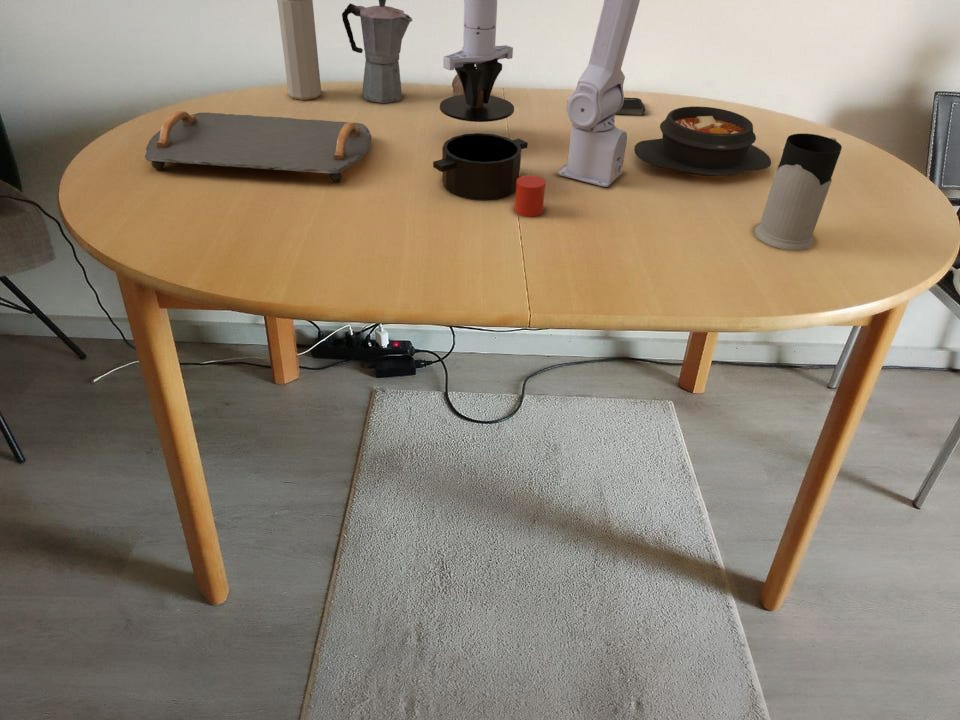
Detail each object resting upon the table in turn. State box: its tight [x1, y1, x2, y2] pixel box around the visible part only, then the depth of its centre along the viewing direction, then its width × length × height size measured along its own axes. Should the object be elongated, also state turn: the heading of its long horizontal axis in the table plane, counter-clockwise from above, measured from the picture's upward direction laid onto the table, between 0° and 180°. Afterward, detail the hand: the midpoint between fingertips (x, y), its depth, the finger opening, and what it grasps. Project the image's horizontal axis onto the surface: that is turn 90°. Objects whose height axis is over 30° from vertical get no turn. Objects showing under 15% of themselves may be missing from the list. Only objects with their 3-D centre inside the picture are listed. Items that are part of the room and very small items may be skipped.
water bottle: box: [276, 0, 322, 101], centre depth 150 cm, size 9×8×25 cm
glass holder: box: [754, 132, 843, 251], centre depth 110 cm, size 9×14×15 cm, turn 137°
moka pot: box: [341, 0, 413, 104], centre depth 152 cm, size 10×15×20 cm, turn 78°
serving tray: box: [144, 110, 373, 184], centre depth 129 cm, size 39×23×6 cm, turn 85°
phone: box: [615, 96, 646, 116], centre depth 157 cm, size 8×1×15 cm
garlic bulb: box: [451, 73, 464, 96], centre depth 158 cm, size 8×7×8 cm
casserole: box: [633, 106, 772, 177], centre depth 132 cm, size 25×19×8 cm
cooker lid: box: [439, 86, 515, 123], centre depth 135 cm, size 14×14×4 cm
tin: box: [514, 174, 546, 218], centre depth 116 cm, size 5×5×5 cm
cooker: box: [432, 132, 529, 201], centre depth 123 cm, size 13×18×6 cm
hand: (477, 103), depth 136 cm, fingers closed on cooker lid, 2 cm apart
